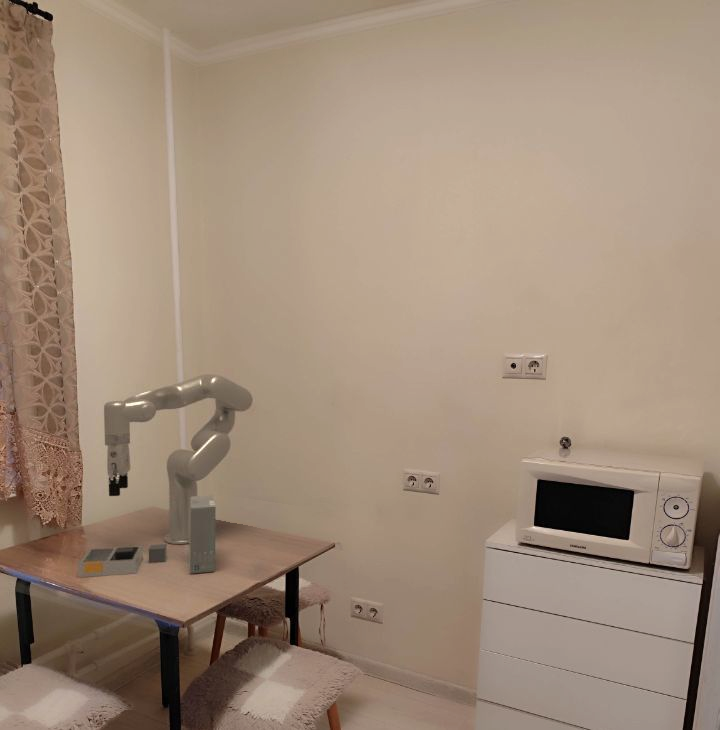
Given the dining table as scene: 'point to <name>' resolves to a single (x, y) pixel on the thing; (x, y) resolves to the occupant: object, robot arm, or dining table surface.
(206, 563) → the hard drive box
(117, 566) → the grey divided tray
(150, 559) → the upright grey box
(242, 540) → the dining table surface
